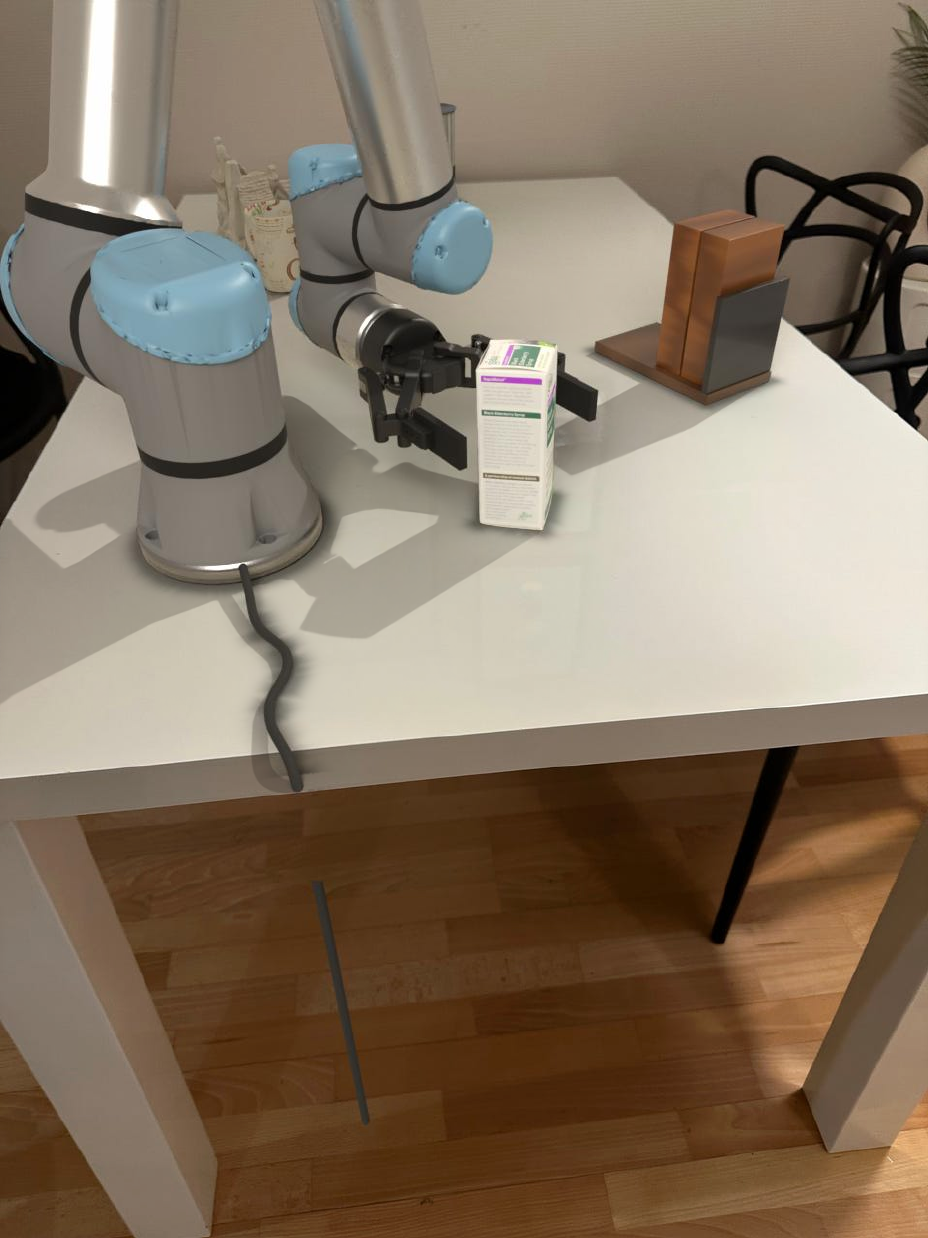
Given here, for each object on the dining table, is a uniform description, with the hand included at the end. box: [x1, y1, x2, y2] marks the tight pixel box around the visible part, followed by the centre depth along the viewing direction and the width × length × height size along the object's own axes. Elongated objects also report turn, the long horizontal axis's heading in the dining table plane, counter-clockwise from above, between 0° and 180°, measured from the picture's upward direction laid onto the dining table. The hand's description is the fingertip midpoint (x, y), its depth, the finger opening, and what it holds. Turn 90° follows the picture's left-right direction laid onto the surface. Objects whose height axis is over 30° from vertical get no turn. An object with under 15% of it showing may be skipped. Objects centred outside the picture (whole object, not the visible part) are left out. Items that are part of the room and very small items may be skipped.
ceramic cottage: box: [210, 136, 290, 261], centre depth 136 cm, size 16×16×15 cm
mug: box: [244, 200, 300, 293], centre depth 122 cm, size 8×13×10 cm, turn 47°
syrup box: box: [475, 338, 558, 531], centre depth 74 cm, size 6×6×14 cm
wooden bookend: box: [594, 208, 791, 406], centre depth 97 cm, size 18×10×16 cm, turn 35°
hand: (531, 429), depth 73 cm, fingers open, 13 cm apart
